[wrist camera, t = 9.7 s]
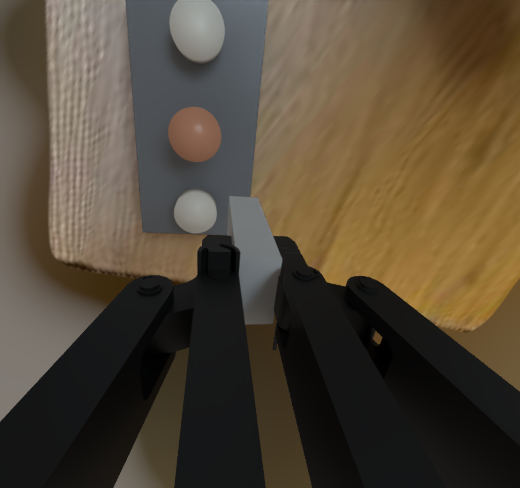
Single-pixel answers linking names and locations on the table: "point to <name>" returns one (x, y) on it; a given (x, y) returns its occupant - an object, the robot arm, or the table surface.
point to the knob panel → (194, 95)
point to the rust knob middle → (194, 134)
